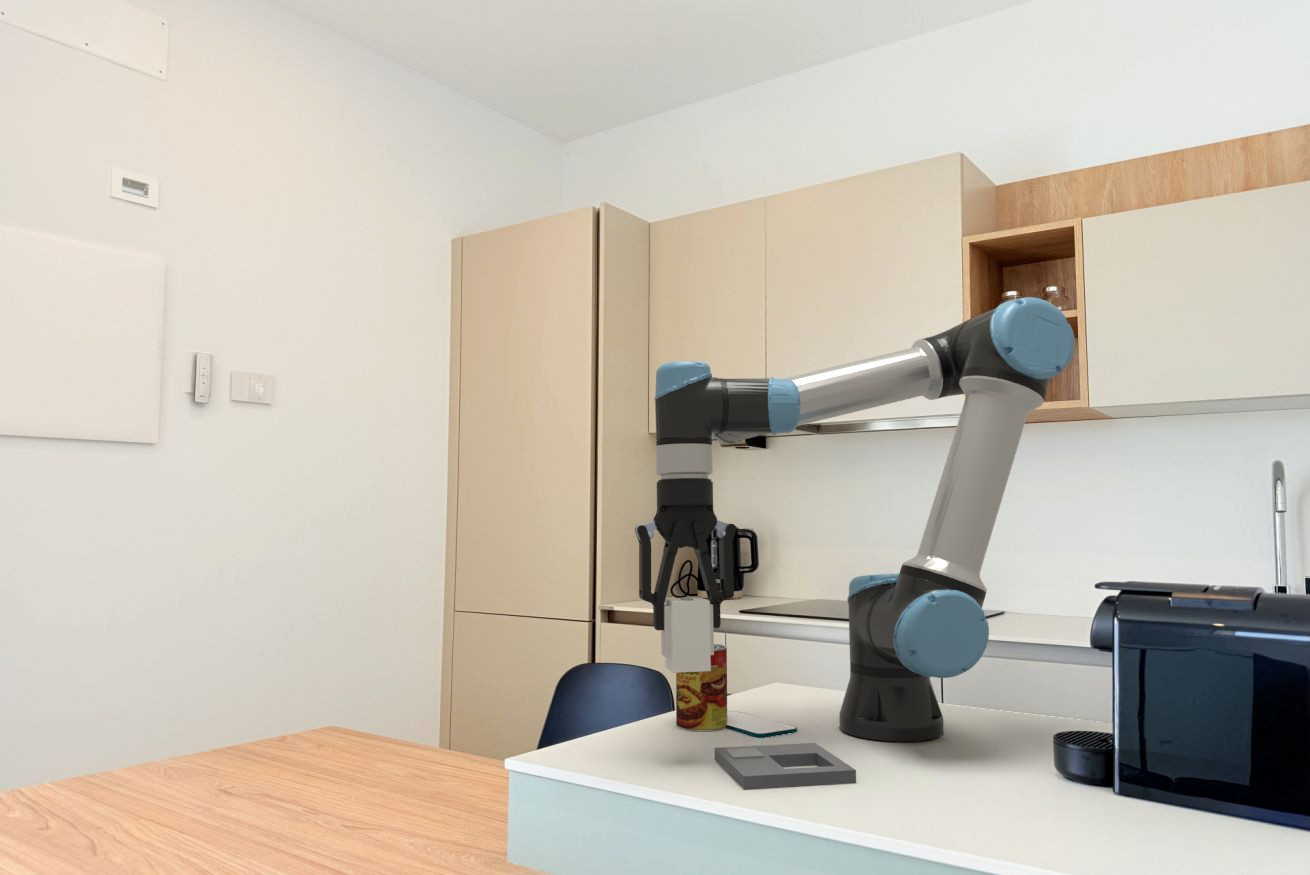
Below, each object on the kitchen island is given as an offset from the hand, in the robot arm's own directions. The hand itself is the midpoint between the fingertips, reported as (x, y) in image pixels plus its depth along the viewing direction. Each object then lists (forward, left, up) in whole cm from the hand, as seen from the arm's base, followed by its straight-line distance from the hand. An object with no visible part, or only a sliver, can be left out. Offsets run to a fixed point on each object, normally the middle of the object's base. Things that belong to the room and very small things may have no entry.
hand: (687, 654), depth 123 cm
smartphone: (-14, -20, -15) cm, 28 cm away
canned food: (-7, -21, -14) cm, 26 cm away
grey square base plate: (-11, +6, -14) cm, 19 cm away
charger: (0, 0, -2) cm, 2 cm away
